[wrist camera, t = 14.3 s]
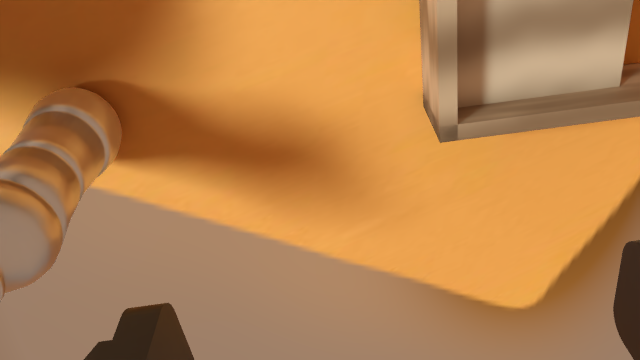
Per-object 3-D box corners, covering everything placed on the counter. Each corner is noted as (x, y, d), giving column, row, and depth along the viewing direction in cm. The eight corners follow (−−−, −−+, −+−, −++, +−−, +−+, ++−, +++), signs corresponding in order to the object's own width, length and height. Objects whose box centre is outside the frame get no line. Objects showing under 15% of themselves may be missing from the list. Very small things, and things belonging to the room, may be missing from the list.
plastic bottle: (129, 84, 42) (9, 257, 25) (129, 162, 45) (25, 361, 28) (38, 71, 41) (-149, 240, 24) (46, 151, 44) (-113, 348, 27)
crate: (416, -82, 36) (435, -69, 31) (670, -121, 35) (733, -113, 30) (423, 106, 43) (440, 142, 38) (636, 77, 42) (682, 110, 37)
